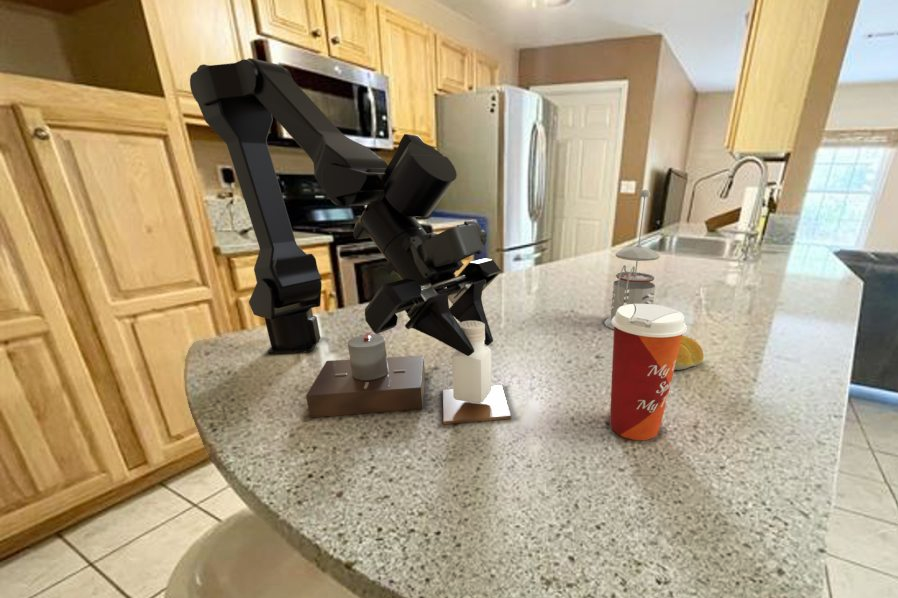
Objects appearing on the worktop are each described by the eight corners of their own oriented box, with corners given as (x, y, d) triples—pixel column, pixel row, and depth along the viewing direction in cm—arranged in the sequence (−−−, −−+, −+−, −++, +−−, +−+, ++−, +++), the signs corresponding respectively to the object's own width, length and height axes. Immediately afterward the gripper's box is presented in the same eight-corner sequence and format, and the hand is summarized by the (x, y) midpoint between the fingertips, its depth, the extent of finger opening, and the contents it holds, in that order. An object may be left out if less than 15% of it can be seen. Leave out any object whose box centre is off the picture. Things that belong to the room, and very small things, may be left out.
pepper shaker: (482, 405, 51) (481, 331, 47) (451, 401, 51) (448, 327, 48) (492, 391, 54) (492, 321, 51) (463, 387, 55) (462, 317, 52)
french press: (661, 322, 85) (680, 190, 75) (643, 339, 76) (662, 191, 66) (615, 313, 89) (628, 188, 80) (592, 329, 80) (604, 189, 71)
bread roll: (711, 363, 66) (716, 339, 65) (674, 375, 62) (678, 351, 60) (668, 346, 73) (672, 324, 71) (632, 356, 68) (635, 333, 67)
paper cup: (657, 454, 44) (678, 329, 39) (590, 431, 48) (601, 314, 43) (676, 421, 50) (696, 309, 45) (615, 403, 54) (627, 298, 49)
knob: (386, 379, 53) (382, 343, 51) (349, 381, 52) (343, 345, 50) (390, 364, 57) (386, 331, 55) (355, 366, 56) (350, 333, 54)
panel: (310, 417, 50) (305, 394, 49) (330, 380, 59) (326, 359, 58) (422, 408, 52) (420, 386, 51) (425, 374, 61) (423, 354, 60)
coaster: (443, 424, 49) (443, 421, 49) (442, 392, 56) (442, 389, 56) (511, 418, 50) (511, 415, 50) (502, 387, 58) (502, 385, 57)
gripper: (370, 199, 38) (471, 337, 37) (488, 193, 53) (561, 292, 52) (327, 273, 45) (412, 392, 44) (443, 250, 60) (507, 338, 59)
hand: (481, 348), depth 50 cm, fingers closed on pepper shaker, 3 cm apart
